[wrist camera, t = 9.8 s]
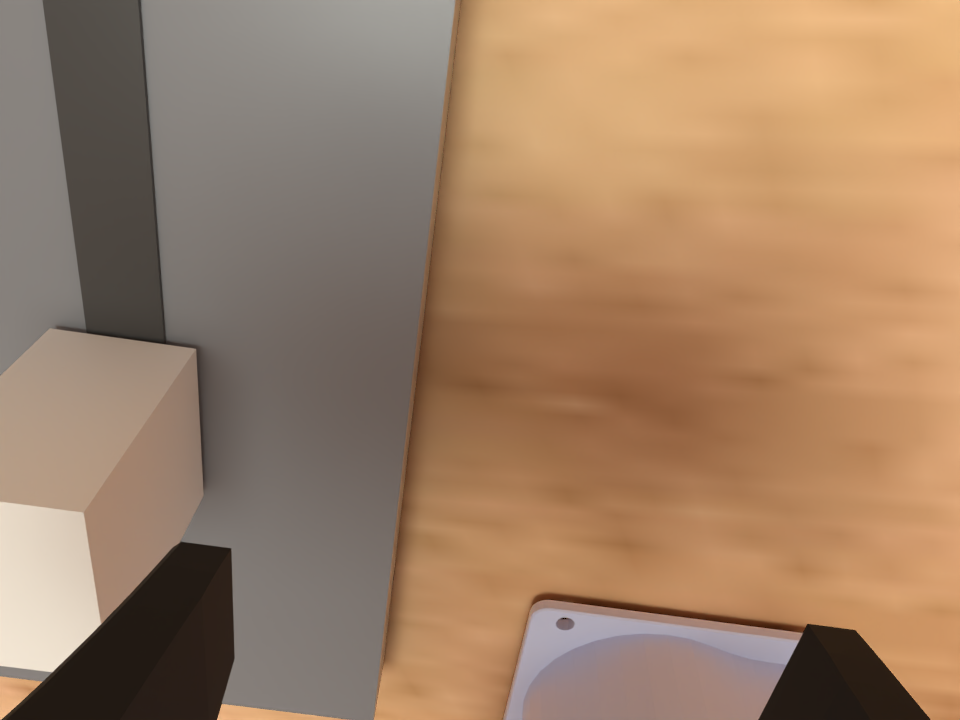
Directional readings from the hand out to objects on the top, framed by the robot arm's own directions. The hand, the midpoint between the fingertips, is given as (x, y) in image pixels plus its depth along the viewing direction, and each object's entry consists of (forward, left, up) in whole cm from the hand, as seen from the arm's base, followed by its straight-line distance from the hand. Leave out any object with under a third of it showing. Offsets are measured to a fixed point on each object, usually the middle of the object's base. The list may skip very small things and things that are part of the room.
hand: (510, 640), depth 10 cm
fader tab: (+8, +3, -7) cm, 11 cm away
